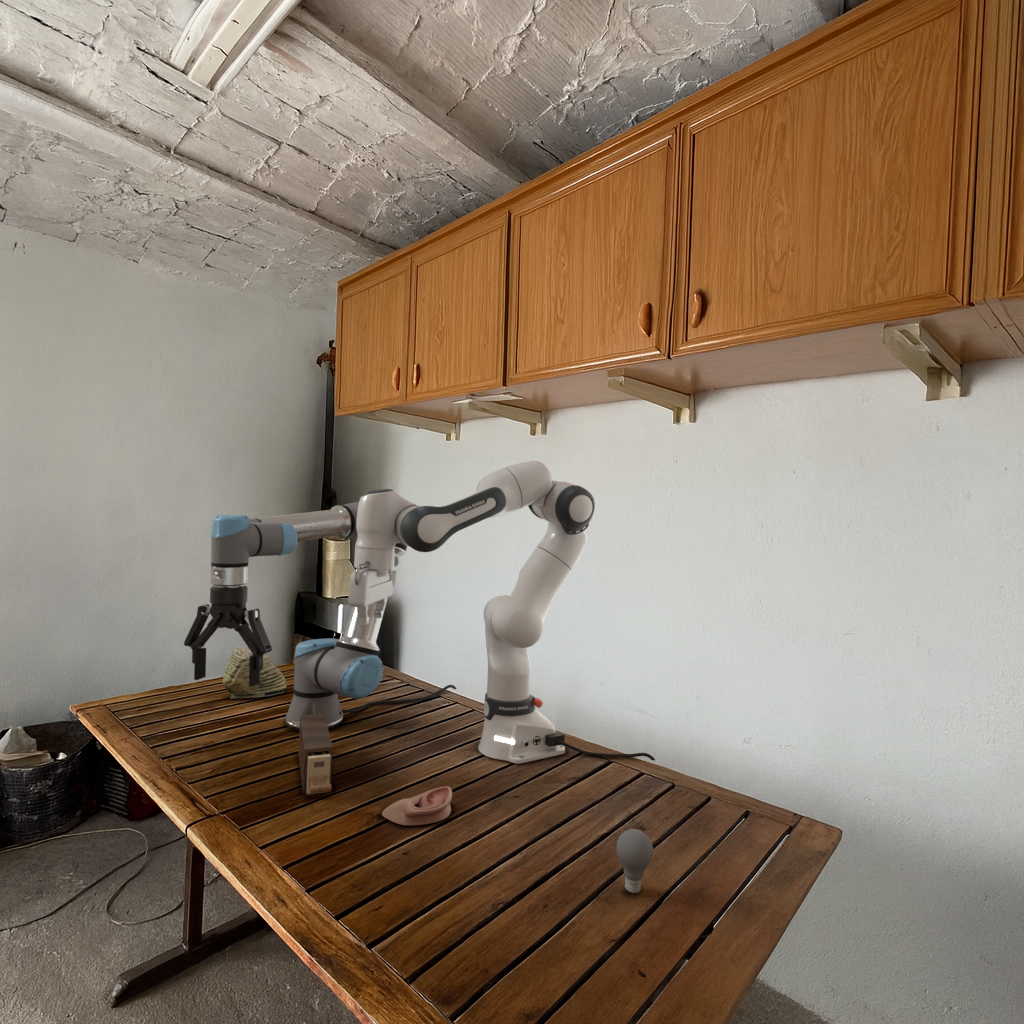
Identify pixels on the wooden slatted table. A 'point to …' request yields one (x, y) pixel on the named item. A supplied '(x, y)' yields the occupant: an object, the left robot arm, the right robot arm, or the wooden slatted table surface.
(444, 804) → the anatomical model
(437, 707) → the wooden slatted table surface
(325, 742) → the cabinet
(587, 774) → the wooden slatted table surface
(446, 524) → the right robot arm
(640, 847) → the light bulb
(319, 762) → the drawer
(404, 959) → the wooden slatted table surface
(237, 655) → the fossil
